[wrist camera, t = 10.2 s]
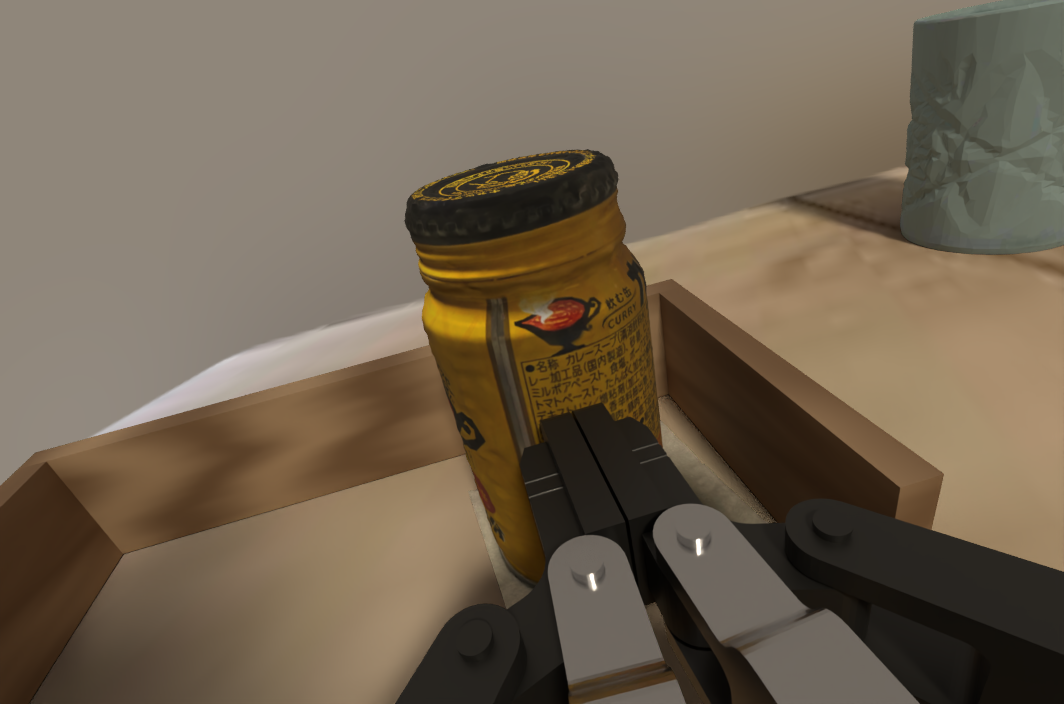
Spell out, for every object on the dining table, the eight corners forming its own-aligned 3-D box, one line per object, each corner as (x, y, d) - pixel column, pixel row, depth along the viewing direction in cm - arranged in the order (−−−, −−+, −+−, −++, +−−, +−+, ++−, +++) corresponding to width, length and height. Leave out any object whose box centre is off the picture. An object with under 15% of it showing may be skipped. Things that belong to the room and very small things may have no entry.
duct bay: (-206, 1010, 11) (-467, 928, 9) (110, 542, 22) (35, 452, 20) (910, 623, 13) (943, 473, 11) (679, 377, 25) (671, 279, 22)
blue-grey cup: (853, 227, 36) (871, 27, 31) (991, 194, 37) (1034, -10, 31) (985, 274, 27) (1046, 4, 22) (1167, 229, 28) (1273, -50, 22)
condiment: (469, 495, 21) (362, 188, 15) (659, 422, 22) (627, 119, 17) (524, 664, 14) (376, 244, 9) (784, 545, 16) (801, 124, 10)
